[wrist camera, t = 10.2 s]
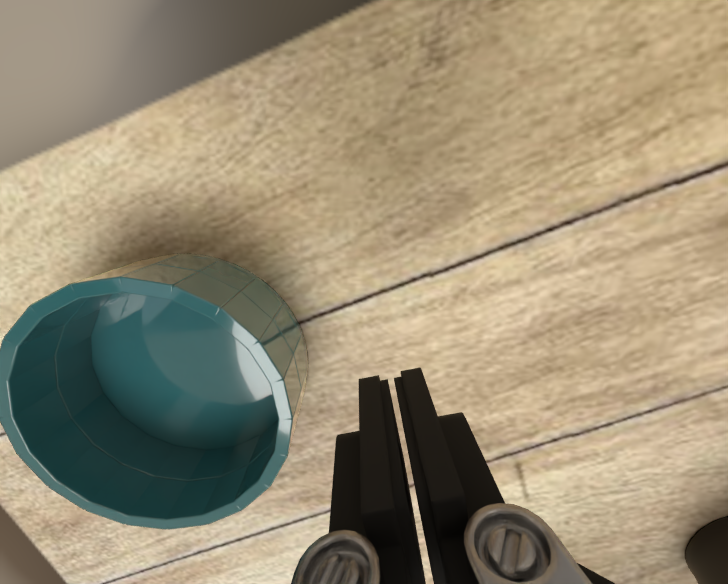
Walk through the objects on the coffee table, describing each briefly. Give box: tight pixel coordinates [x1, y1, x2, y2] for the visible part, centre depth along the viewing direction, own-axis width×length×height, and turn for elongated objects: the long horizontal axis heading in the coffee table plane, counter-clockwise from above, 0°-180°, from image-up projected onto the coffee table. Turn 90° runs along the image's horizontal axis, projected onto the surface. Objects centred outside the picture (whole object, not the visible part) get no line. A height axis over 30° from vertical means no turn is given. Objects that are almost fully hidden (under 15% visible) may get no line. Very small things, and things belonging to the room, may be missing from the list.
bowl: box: [0, 254, 308, 529], centre depth 16 cm, size 12×12×5 cm
